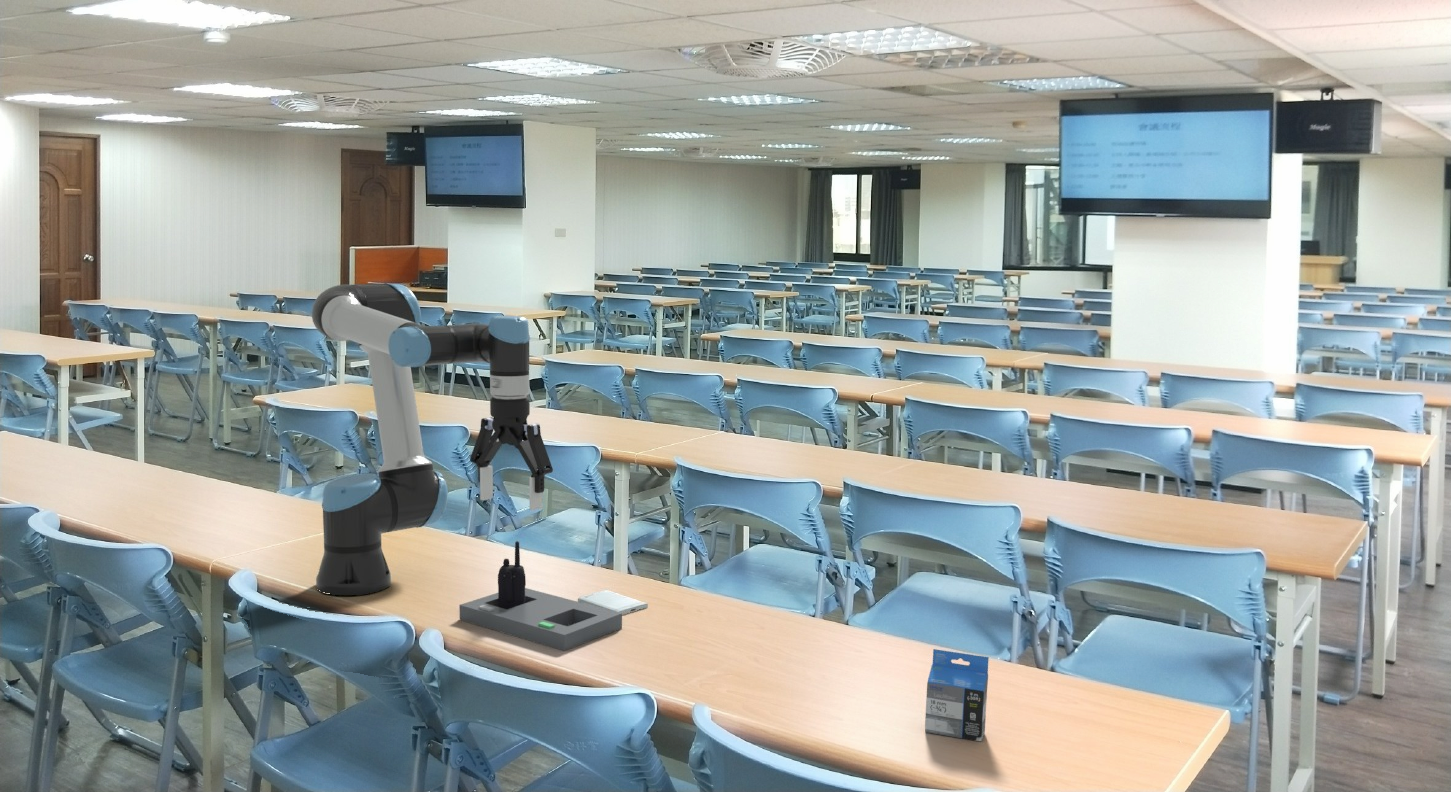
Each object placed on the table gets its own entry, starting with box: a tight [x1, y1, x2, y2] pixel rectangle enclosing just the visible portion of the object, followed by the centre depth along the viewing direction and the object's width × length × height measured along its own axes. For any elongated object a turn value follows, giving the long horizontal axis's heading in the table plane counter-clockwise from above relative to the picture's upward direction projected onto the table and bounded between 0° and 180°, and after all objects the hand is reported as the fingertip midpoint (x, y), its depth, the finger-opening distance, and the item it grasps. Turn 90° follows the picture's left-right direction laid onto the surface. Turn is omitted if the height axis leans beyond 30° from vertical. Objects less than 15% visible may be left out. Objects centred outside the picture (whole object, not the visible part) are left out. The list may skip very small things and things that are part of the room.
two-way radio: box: [497, 540, 527, 609], centre depth 236 cm, size 6×4×15 cm
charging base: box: [459, 587, 623, 652], centre depth 233 cm, size 28×16×3 cm, turn 54°
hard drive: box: [577, 589, 649, 616], centre depth 246 cm, size 2×8×12 cm
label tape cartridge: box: [924, 648, 990, 742], centre depth 185 cm, size 9×4×12 cm, turn 69°
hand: (510, 504), depth 234 cm, fingers open, 13 cm apart
